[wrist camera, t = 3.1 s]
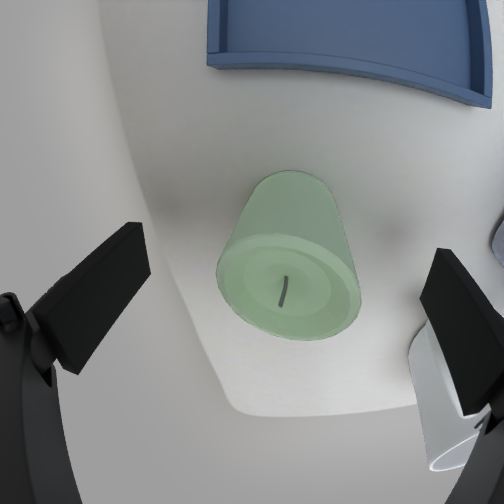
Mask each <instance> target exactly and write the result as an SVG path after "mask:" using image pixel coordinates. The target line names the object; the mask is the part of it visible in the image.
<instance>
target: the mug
mask: <svg viewBox="0 0 504 504" xmlns="http://www.w3.org/2000/svg"><path fill="white" fill-rule="evenodd" d="M408 360H409V367H410V372H411V377H412V381H413V385H414V389H415V393H416V398H417V403H418V407H419V412H420V417H421V422H422V428H423V434H424V440H425V446H426V453H427V461H428V468H429V469H430V470H431V471H445V470H450V469H454V468H457V467H461V466H463V465H466V463H467V461H468V459H469V456H470V454H471V452H472V450H473V447H474V445H475V443H476V440H477V438H478V435H479V433H480V431H479V430H480V429H481V427H482V425H483V423H482V424H481V425H480V426H479V427H478V428H476V429H475V428H474V427H475V425H476V424H477V423H478V422H479V421H480V420H481V419H482V418H483V417H484V416H485V415H486V414H487V413H488V412H489V411H490V410H491V408H490V405H489V403H488V404H487V405H486V406H485V407H484V408H483V409H482V410H481V411H480V413H477V414H473V415H468V416H463V413H462V409H461V406H460V402H459V399H458V396H457V393H456V390H455V386H454V383H453V380H452V378H451V375H450V372H449V369H448V366H447V363H446V361H445V358H444V355H443V353H442V350H441V348H440V345H439V342H438V340H437V338H436V335H435V333H434V330H433V328H432V326H431V323H430V321H429V319H428V320H427V322H426V325H425V326H424V327H423V328H422V329H421V330H420V331H419V333H418V334H417V336H416V337H415V339H414V340H413V342H412V344H411V347H410V350H409V355H408Z"/></svg>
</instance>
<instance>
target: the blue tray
mask: <svg viewBox="0 0 504 504" xmlns="http://www.w3.org/2000/svg"><path fill="white" fill-rule="evenodd" d="M207 65H208V66H211V67H214V68H216V69H219V70H222V69H291V70H307V71H318V72H328V73H337V74H344V75H352V76H358V77H364V78H370V79H375V80H381V81H386V82H390V83H395V84H399V85H404V86H408V87H412V88H416V89H420V90H423V91H427V92H430V93H434V94H437V95H440V96H444V97H447V98H450V99H453V100H456V101H459V102H462V103H464V104H467V105H470V106H474V107H481V108H487V109H491V107H492V99H491V98H492V85H493V70H492V46H491V34H490V25H489V17H488V10H487V4H486V0H208V20H207Z"/></svg>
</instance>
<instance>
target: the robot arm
mask: <svg viewBox="0 0 504 504" xmlns="http://www.w3.org/2000/svg"><path fill="white" fill-rule="evenodd" d="M150 275H151V272H150V267H149V261H148V256H147V250H146V245H145V239H144V232H143V226H142V223H140V222H127V223H126V224H125V225H124V226H122V227H121V228H120V229H119V230H118V231H116V232H115V233H114V234H113V235H112V236H110V237H109V238H108V239H107V240H106V241H104V242H103V243H102V244H101V245H100V246H99V247H97V248H96V249H95V250H94V251H93V252H92V253H91V254H90V255H88V256H87V257H86V258H85V259H84V260H83V261H82V262H81V263H79V264H78V265H77V266H76V267H75V268H74V269H73V270H72V271H71V272H70V273H68V274H66V275H65V276H63V277H61V278H60V279H59V280H58V281H57V282H56V283H55V284H54V286H53V287H51V288H50V289H49V290H48V291H47V293H45V294H44V295H43V296H42V297H41V298H40V299H39V300H38V301H37V302H36V303H35V304H34V305H33V306H32V307H31V308H30V309H29V310H28V311H27V312H26V313H24V311H23V309H22V307H21V305H20V303H19V301H18V298H17V296H16V295H15V294H14V293H11V292H7V293H3V294H1V295H0V504H82V501H81V498H80V494H79V491H78V488H77V485H76V481H75V478H74V475H73V471H72V467H71V463H70V459H69V455H68V450H67V446H66V441H65V436H64V431H63V425H62V419H61V412H60V405H59V397H58V388H57V377H56V369H55V366H54V365H53V362H54V361H55V360H56V358H57V359H58V361H59V363H60V364H61V366H62V368H63V369H65V370H67V371H69V372H72V373H74V374H76V375H79V373H80V372H81V370H82V369H83V367H84V366H85V364H86V363H87V361H88V359H89V358H90V357H91V355H92V354H93V352H94V351H95V349H96V348H97V346H98V345H99V344H100V342H101V341H102V339H103V338H104V336H105V335H106V334H107V332H108V331H109V329H110V328H111V327H112V325H113V324H114V323H115V321H116V320H117V318H118V317H119V316H120V314H121V313H122V312H123V310H124V309H125V307H126V306H127V305H128V303H129V302H130V301H131V299H132V298H133V297H134V295H135V294H136V293H137V291H138V290H139V289H140V288H141V286H142V285H143V284H144V282H145V281H146V280H147V278H148V277H149V276H150ZM420 301H421V303H422V305H423V307H424V310H425V312H426V314H427V316H428V319H429V321H430V323H431V326H432V328H433V330H434V333H435V335H436V338H437V340H438V342H439V345H440V348H441V350H442V353H443V355H444V358H445V361H446V363H447V366H448V369H449V372H450V375H451V378H452V380H453V383H454V386H455V390H456V393H457V396H458V399H459V402H460V406H461V409H462V413H463V416H468V415H473V414H477V413H480V411H481V410H482V409H483V408H484V407H485V406H486V405H487V404H488V403H489V405H490V408H491V410H490V411H489V412H488V413H487V414H486V415H485V416H484V417H483V418H482V419H481V420H480V421H479V422H478V423H477V424H476V425H475V427H474V428H475V429H476V428H478V427H479V426H480V425H481V424H482V423H483V425H482V427H481V429H480V430H479V431H480V433H479V435H478V438H477V440H476V443H475V445H474V447H473V450H472V452H471V454H470V456H469V459H468V461H467V463H466V465H465V467H464V469H463V471H462V473H461V476H460V477H459V479H458V481H457V483H456V485H455V486H454V488H453V490H452V492H451V494H450V495H449V497H448V499H447V501H446V502H445V504H504V318H503V317H502V316H501V315H500V314H499V313H498V312H497V311H496V310H495V309H494V308H493V306H492V305H491V303H490V302H489V300H488V299H487V297H486V296H485V295H484V293H483V292H482V290H481V289H480V287H479V286H478V285H477V283H476V282H475V280H474V279H473V278H472V276H471V275H470V274H469V272H468V271H467V270H466V268H465V267H464V266H463V264H462V263H461V262H460V261H459V259H458V258H457V257H456V256H455V254H454V253H453V252H452V251H451V249H443V248H437V250H436V253H435V257H434V260H433V263H432V266H431V269H430V272H429V275H428V277H427V280H426V283H425V286H424V288H423V291H422V294H421V296H420Z"/></svg>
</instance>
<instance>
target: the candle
mask: <svg viewBox="0 0 504 504" xmlns="http://www.w3.org/2000/svg"><path fill="white" fill-rule="evenodd" d="M216 278H217V283H218V288H219V289H220V291H221V293H222V295H223V297H224V299H225V301H226V302H227V303H228V304H229V306H230V307H231V308H232V309H233V310H234V312H235V313H237V314H238V315H239V316H240V317H241V318H243V319H244V320H245V321H246V322H248V323H249V324H251V325H253V326H255V327H256V328H258V329H260V330H262V331H264V332H267V333H269V334H272V335H274V336H278V337H282V338H286V339H290V340H303V341H310V340H320V339H324V338H328V337H331V336H334V335H336V334H338V333H340V332H341V331H343V330H344V329H346V328H348V327H349V326H350V325H351V323H352V322H353V321H354V320H355V319H356V317H357V315H358V312H359V309H360V306H361V292H360V286H359V282H358V278H357V274H356V270H355V267H354V263H353V259H352V256H351V252H350V248H349V245H348V241H347V238H346V235H345V231H344V228H343V225H342V221H341V218H340V215H339V212H338V209H337V206H336V203H335V200H334V198H333V196H332V194H331V192H330V190H329V189H328V188H327V187H326V186H325V185H324V184H323V182H322V181H320V180H319V179H317V178H315V177H314V176H312V175H310V174H307V173H304V172H300V171H283V172H279V173H275V174H273V175H271V176H269V177H267V178H265V179H264V180H263V181H262V182H261V183H260V184H259V185H257V186H256V188H255V189H254V191H253V193H252V194H251V196H250V198H249V200H248V202H247V204H246V206H245V208H244V210H243V212H242V214H241V216H240V218H239V220H238V222H237V224H236V226H235V228H234V230H233V232H232V234H231V236H230V238H229V240H228V242H227V244H226V246H225V248H224V250H223V252H222V254H221V256H220V258H219V260H218V264H217V271H216Z"/></svg>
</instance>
